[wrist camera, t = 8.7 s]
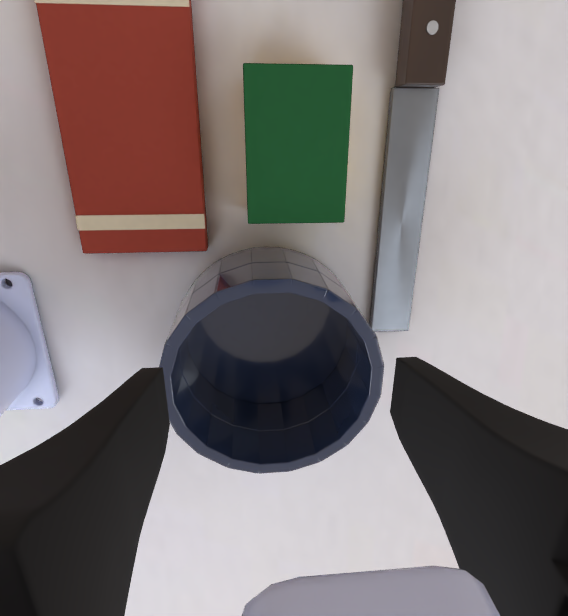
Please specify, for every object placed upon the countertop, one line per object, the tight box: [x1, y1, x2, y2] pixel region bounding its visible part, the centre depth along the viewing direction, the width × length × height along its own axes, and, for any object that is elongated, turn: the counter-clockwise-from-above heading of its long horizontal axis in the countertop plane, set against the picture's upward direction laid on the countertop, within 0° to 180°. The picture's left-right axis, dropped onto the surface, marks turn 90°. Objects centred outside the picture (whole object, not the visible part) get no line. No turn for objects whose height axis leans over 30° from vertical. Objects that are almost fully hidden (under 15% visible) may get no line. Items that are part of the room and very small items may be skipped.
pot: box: [159, 247, 384, 473], centre depth 21 cm, size 10×10×6 cm
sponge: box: [243, 63, 353, 224], centre depth 18 cm, size 4×6×3 cm
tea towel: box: [34, 0, 208, 253], centre depth 18 cm, size 6×12×1 cm, turn 0°
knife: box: [370, 0, 456, 332], centre depth 20 cm, size 2×20×2 cm, turn 0°
